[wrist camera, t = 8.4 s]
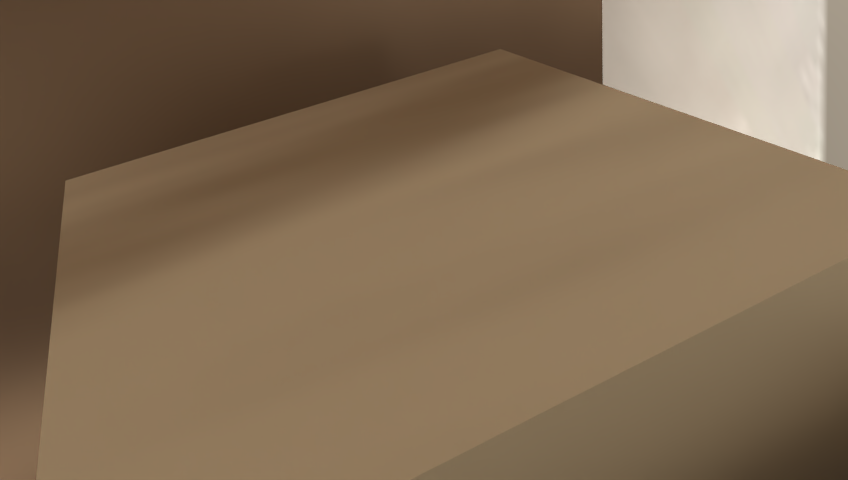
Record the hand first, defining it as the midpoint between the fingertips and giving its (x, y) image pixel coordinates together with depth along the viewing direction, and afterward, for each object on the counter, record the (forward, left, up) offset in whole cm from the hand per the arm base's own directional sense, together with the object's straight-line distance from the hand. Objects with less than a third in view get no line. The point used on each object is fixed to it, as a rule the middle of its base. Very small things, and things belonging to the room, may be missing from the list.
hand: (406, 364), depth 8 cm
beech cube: (0, 0, -2) cm, 2 cm away
